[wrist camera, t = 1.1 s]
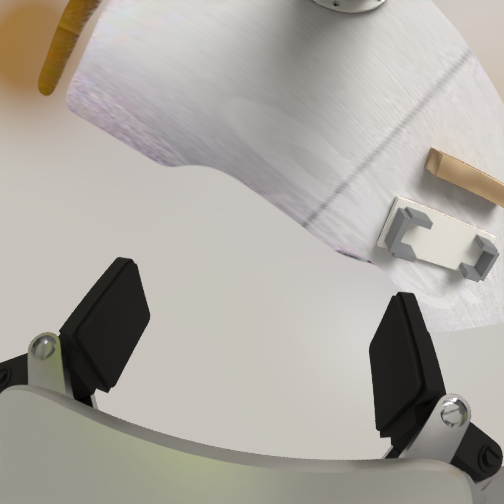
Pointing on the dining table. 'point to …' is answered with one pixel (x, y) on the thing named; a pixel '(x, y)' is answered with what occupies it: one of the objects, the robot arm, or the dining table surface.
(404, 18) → the dining table surface
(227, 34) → the dining table surface
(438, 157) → the slat
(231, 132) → the dining table surface
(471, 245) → the mounting board
